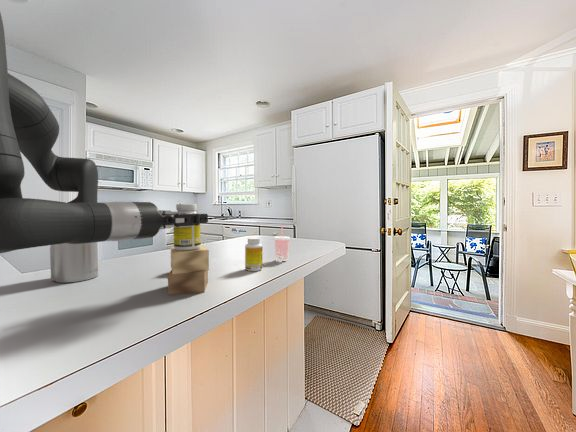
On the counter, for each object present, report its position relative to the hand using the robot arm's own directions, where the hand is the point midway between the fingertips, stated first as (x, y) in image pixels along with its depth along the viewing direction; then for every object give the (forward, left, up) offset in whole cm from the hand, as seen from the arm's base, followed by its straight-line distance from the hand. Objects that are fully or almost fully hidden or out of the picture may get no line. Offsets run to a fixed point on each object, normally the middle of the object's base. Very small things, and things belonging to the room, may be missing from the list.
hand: (194, 217), depth 63 cm
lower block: (-1, -2, -18) cm, 18 cm away
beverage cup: (+22, +29, -18) cm, 41 cm away
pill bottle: (-1, -2, -8) cm, 8 cm away
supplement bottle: (+13, +16, -18) cm, 27 cm away
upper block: (-1, -1, -13) cm, 13 cm away
